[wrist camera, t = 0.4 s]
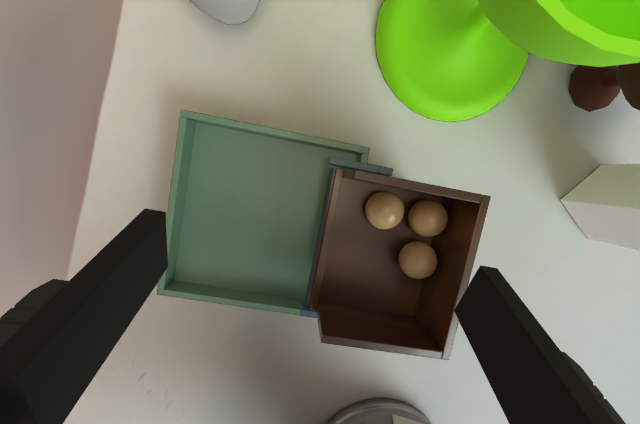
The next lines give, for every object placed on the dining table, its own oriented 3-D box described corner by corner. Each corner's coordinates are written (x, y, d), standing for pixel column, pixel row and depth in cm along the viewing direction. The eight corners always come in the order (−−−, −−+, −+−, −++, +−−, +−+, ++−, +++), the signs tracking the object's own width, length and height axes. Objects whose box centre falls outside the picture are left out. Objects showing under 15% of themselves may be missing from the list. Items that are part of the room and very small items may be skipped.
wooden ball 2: (425, 233, 27) (451, 242, 24) (397, 229, 25) (420, 239, 23) (433, 199, 26) (460, 205, 23) (405, 194, 25) (430, 199, 22)
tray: (331, 307, 33) (334, 320, 30) (169, 283, 32) (156, 294, 29) (363, 150, 31) (369, 147, 28) (192, 115, 30) (180, 109, 27)
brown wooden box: (414, 318, 28) (449, 360, 22) (304, 301, 27) (306, 341, 21) (445, 190, 27) (491, 196, 20) (329, 167, 26) (340, 166, 19)
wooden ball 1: (385, 226, 26) (407, 235, 23) (355, 222, 25) (374, 231, 22) (393, 192, 26) (416, 196, 23) (362, 186, 25) (382, 190, 22)
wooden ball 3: (416, 272, 27) (440, 285, 24) (388, 269, 26) (410, 283, 23) (424, 239, 27) (449, 249, 24) (395, 235, 25) (419, 245, 23)
